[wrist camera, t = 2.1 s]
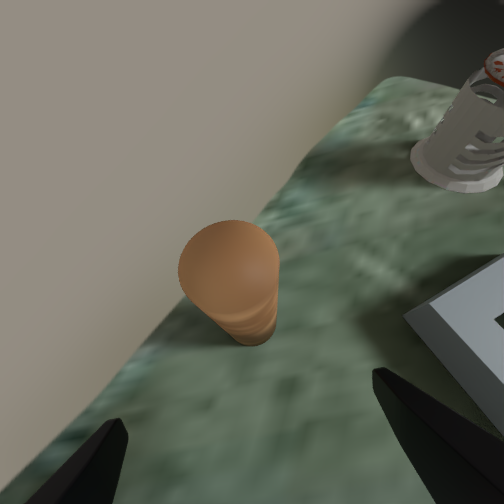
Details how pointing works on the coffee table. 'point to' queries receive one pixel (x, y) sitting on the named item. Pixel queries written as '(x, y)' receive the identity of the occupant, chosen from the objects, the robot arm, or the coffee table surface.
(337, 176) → the coffee table surface
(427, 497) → the coffee table surface
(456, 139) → the french press
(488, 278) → the socket block
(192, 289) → the peg
